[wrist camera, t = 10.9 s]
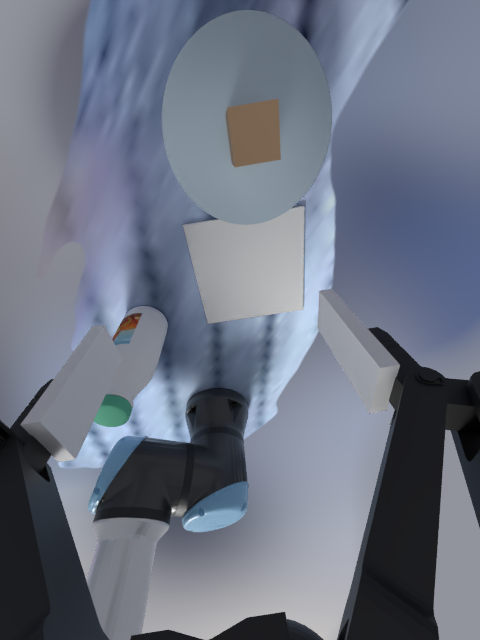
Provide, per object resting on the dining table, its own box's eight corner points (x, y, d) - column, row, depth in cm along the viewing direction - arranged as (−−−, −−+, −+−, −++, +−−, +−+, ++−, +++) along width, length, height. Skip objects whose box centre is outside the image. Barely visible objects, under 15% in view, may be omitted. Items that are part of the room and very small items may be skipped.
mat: (302, 307, 47) (303, 309, 47) (207, 322, 47) (207, 324, 47) (303, 205, 37) (304, 206, 36) (183, 224, 37) (182, 225, 37)
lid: (323, 210, 31) (348, 225, 25) (188, 232, 31) (181, 252, 25) (334, -2, 21) (377, -58, 15) (137, 33, 22) (108, -9, 16)
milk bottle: (162, 302, 44) (130, 392, 28) (172, 336, 49) (149, 432, 32) (119, 306, 44) (60, 400, 28) (132, 340, 49) (89, 438, 32)
